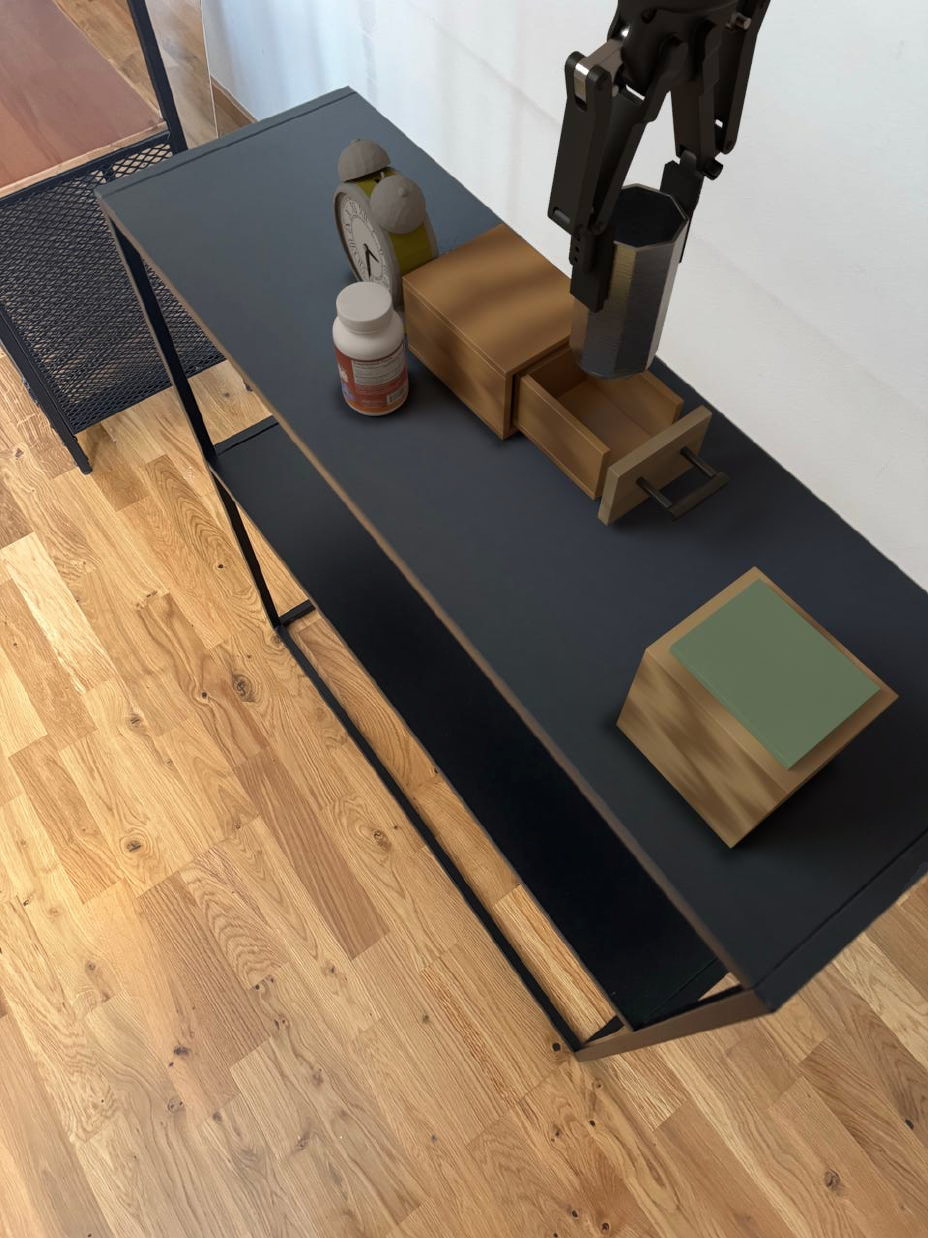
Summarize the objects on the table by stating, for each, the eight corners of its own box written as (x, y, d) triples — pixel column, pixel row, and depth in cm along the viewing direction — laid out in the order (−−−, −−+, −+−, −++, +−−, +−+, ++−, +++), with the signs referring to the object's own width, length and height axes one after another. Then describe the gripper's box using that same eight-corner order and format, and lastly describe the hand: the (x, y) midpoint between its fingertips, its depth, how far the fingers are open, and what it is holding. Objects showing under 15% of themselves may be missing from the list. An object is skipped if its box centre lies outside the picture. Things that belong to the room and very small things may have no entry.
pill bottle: (346, 368, 85) (329, 274, 75) (410, 368, 85) (402, 274, 75) (341, 418, 82) (323, 326, 72) (407, 418, 82) (399, 326, 72)
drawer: (734, 500, 76) (756, 449, 70) (646, 564, 73) (661, 516, 67) (591, 375, 83) (601, 319, 77) (505, 429, 80) (508, 375, 74)
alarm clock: (341, 277, 91) (319, 137, 78) (398, 252, 92) (386, 111, 79) (399, 346, 86) (385, 211, 73) (458, 319, 88) (455, 182, 75)
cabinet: (597, 381, 84) (609, 310, 76) (502, 440, 80) (505, 372, 73) (500, 296, 89) (502, 222, 82) (407, 348, 86) (401, 276, 78)
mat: (876, 693, 54) (881, 688, 54) (787, 771, 52) (791, 766, 51) (755, 583, 58) (759, 577, 57) (668, 651, 56) (670, 645, 55)
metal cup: (665, 337, 70) (699, 202, 59) (634, 392, 67) (664, 259, 57) (591, 311, 71) (612, 174, 61) (558, 363, 69) (573, 229, 58)
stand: (825, 765, 66) (899, 696, 54) (730, 849, 63) (788, 794, 51) (708, 651, 70) (755, 565, 59) (615, 724, 67) (645, 648, 56)
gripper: (778, -194, 47) (687, 194, 67) (489, -76, 41) (484, 309, 62) (891, -144, 44) (761, 246, 64) (596, -9, 39) (555, 372, 59)
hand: (626, 276), depth 63 cm, fingers closed on metal cup, 7 cm apart
